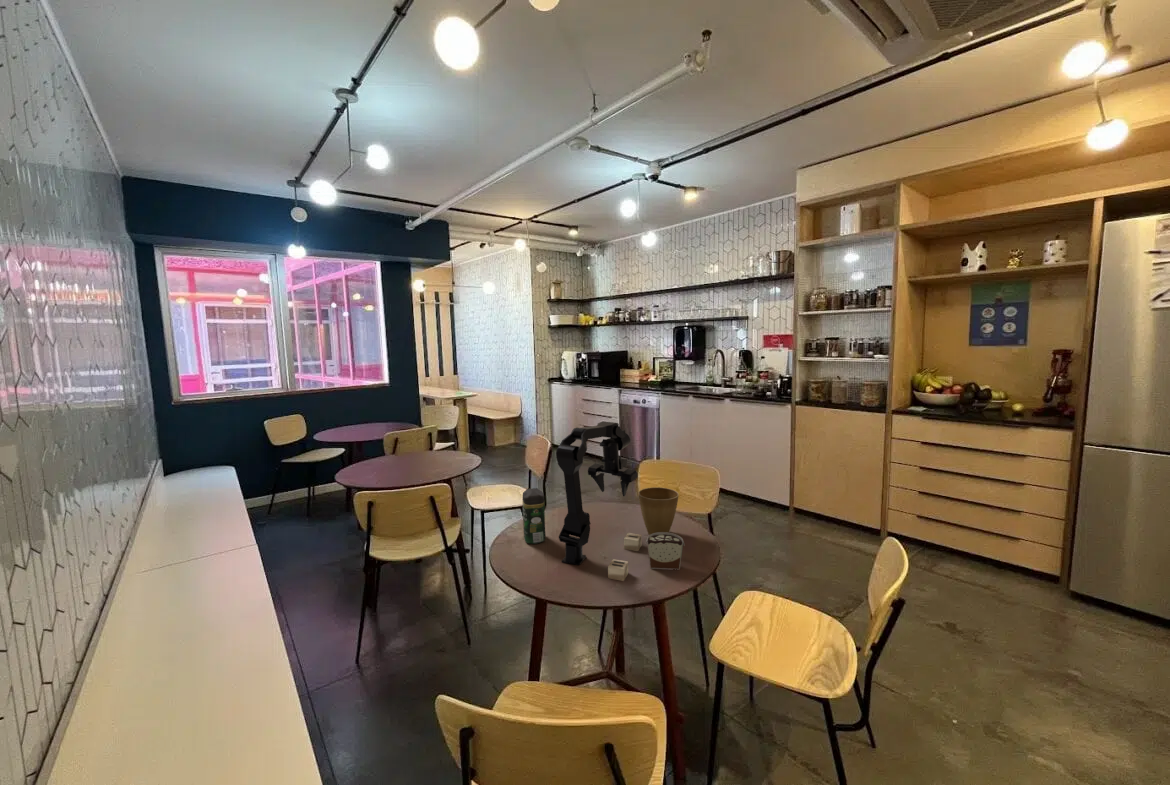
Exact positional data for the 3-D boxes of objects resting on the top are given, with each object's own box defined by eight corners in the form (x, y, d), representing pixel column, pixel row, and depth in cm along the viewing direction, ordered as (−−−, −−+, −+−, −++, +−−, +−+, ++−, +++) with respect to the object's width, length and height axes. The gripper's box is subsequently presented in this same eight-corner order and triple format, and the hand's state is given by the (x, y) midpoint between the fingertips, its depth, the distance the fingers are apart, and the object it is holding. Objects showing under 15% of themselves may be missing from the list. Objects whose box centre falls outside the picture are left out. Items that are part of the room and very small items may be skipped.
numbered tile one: (638, 551, 164) (638, 540, 163) (624, 549, 165) (624, 538, 165) (641, 545, 168) (641, 534, 168) (628, 543, 170) (628, 532, 169)
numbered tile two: (623, 581, 144) (623, 568, 143) (608, 578, 146) (608, 565, 145) (628, 573, 148) (628, 561, 148) (613, 571, 150) (613, 558, 150)
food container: (682, 560, 156) (682, 532, 155) (684, 569, 150) (684, 540, 149) (644, 559, 157) (645, 530, 156) (645, 568, 151) (645, 538, 150)
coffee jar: (522, 535, 178) (520, 487, 176) (543, 532, 180) (541, 485, 177) (525, 546, 168) (523, 495, 166) (547, 543, 170) (546, 494, 168)
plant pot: (685, 539, 173) (686, 497, 171) (648, 544, 168) (648, 501, 167) (667, 524, 187) (667, 485, 185) (632, 528, 183) (632, 488, 181)
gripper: (643, 450, 175) (645, 489, 179) (600, 444, 186) (603, 481, 189) (629, 461, 166) (631, 501, 170) (585, 454, 177) (588, 492, 180)
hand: (613, 493), depth 177 cm, fingers open, 9 cm apart
